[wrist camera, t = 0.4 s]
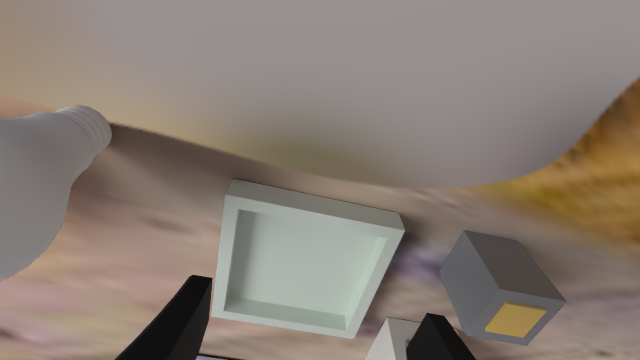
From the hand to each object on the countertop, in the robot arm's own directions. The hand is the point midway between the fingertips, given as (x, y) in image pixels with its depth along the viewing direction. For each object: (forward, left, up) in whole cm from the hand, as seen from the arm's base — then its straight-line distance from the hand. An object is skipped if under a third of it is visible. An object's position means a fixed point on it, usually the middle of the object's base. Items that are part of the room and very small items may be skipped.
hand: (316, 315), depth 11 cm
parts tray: (-7, 0, -10) cm, 12 cm away
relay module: (-4, -12, -10) cm, 16 cm away
